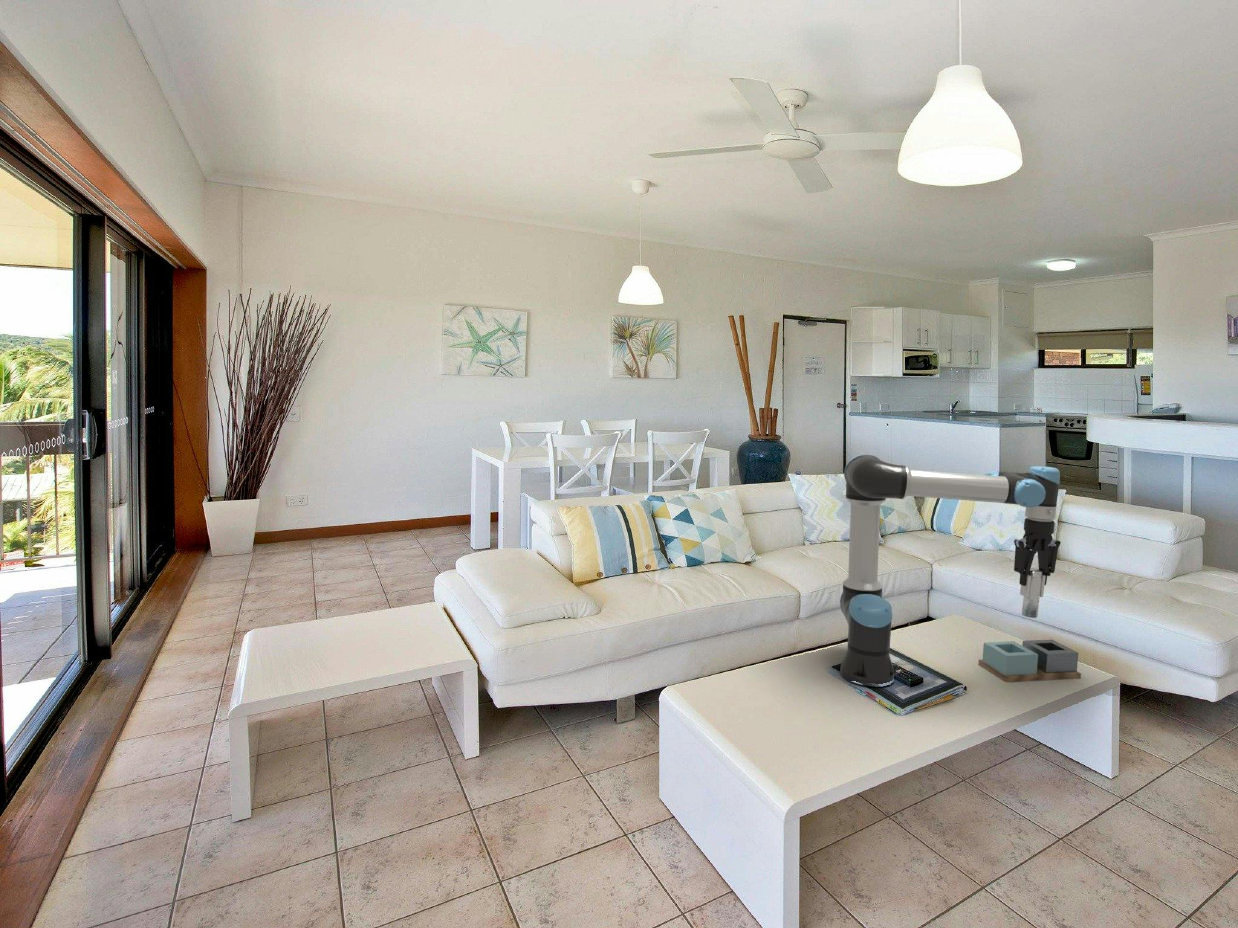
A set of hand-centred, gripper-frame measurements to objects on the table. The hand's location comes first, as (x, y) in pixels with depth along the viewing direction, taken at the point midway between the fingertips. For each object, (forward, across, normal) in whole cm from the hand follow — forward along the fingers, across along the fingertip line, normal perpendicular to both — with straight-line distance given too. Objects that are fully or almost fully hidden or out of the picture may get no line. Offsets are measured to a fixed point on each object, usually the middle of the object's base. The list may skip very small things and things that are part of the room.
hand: (1031, 595), depth 193 cm
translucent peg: (+6, 0, 0) cm, 6 cm away
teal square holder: (+22, -5, 0) cm, 23 cm away
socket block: (+22, +8, 0) cm, 23 cm away
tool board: (+24, +1, 0) cm, 24 cm away
